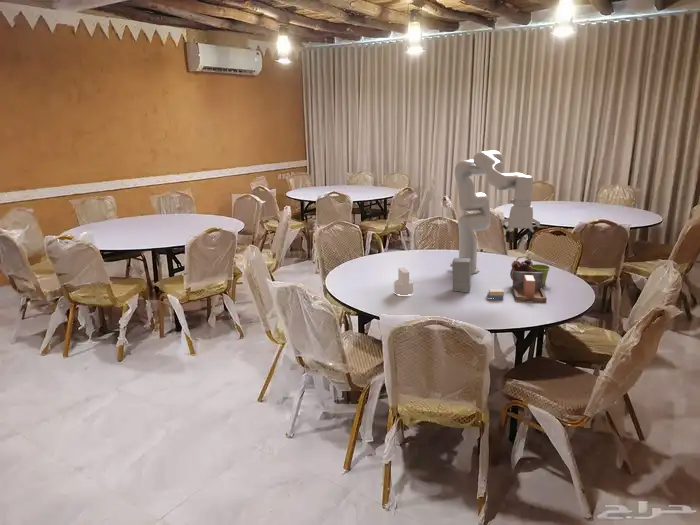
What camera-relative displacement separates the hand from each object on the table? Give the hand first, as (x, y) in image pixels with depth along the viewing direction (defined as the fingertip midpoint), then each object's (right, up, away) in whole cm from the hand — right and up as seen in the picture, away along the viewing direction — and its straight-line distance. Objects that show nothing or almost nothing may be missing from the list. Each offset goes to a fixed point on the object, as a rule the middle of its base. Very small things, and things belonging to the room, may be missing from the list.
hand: (518, 239), depth 234 cm
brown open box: (+6, -26, +3) cm, 27 cm away
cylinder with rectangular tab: (-52, -26, +10) cm, 59 cm away
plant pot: (+17, -21, +20) cm, 34 cm away
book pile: (-11, -27, +1) cm, 29 cm away
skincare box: (-24, -24, +13) cm, 36 cm away
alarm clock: (+7, -22, +17) cm, 29 cm away
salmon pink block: (+6, -25, +3) cm, 26 cm away
